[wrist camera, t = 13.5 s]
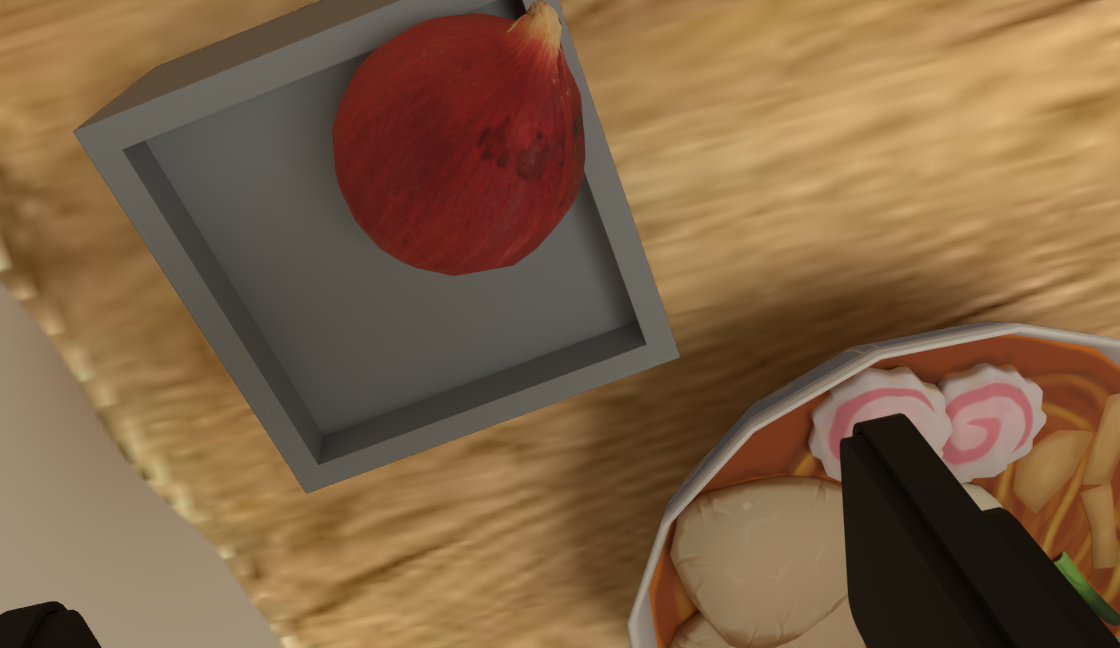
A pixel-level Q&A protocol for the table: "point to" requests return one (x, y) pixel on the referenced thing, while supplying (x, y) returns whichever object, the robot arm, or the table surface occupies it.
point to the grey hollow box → (360, 252)
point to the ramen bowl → (816, 490)
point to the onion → (462, 141)
